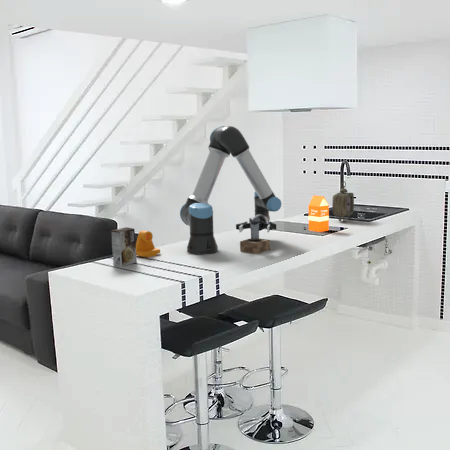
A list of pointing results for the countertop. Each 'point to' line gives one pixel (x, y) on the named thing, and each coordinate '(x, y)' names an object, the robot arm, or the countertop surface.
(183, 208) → the robot arm
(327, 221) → the orange juice
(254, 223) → the steel pin
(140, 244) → the bracket
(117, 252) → the coffee box
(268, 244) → the socket block
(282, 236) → the countertop surface
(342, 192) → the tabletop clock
